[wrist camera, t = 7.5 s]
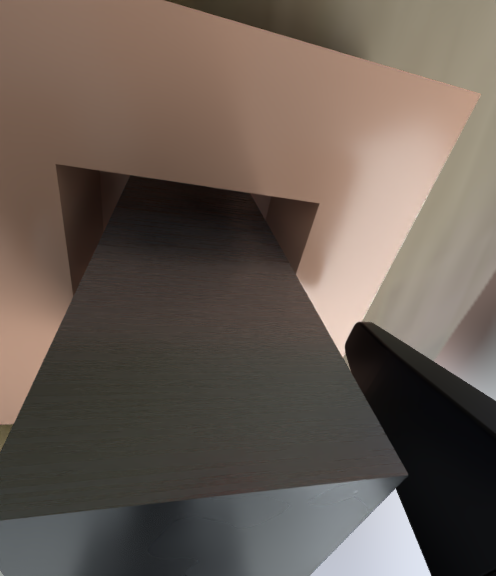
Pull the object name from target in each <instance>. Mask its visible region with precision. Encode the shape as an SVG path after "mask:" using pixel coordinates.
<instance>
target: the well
mask: <svg viewBox="0 0 496 576" xmlns="http://www.w3.org/2000/svg"><path fill="white" fill-rule="evenodd" d="M480 95H481V94H480V93H476V92H473V91H470V90H466V89H463V88H459V87H456V86H453V85H449V84H446V83H442V82H439V81H436V80H432V79H429V78H426V77H422V76H419V75H415V74H412V73H409V72H405V71H402V70H398V69H395V68H392V67H388V66H385V65H382V64H378V63H375V62H371V61H368V60H365V59H361V58H358V57H354V56H351V55H348V54H344V53H341V52H338V51H334V50H331V49H327V48H324V47H321V46H317V45H314V44H310V43H307V42H304V41H300V40H297V39H294V38H290V37H287V36H283V35H280V34H277V33H273V32H270V31H266V30H263V29H260V28H256V27H253V26H250V25H246V24H243V23H239V22H236V21H233V20H229V19H226V18H222V17H219V16H216V15H212V14H209V13H206V12H202V11H199V10H195V9H192V8H189V7H185V6H182V5H178V4H175V3H172V2H168V1H165V0H0V425H1V424H14V422H15V420H16V418H17V416H18V414H19V412H20V409H21V407H22V405H23V403H24V401H25V399H26V397H27V394H28V392H29V390H30V388H31V386H32V384H33V382H34V380H35V377H36V375H37V373H38V371H39V369H40V367H41V365H42V362H43V360H44V358H45V356H46V354H47V352H48V350H49V348H50V345H51V343H52V341H53V339H54V337H55V335H56V333H57V330H58V328H59V326H60V324H61V322H62V320H63V318H64V316H65V313H66V311H67V309H68V307H69V305H70V303H71V301H72V298H73V296H74V294H75V292H76V290H77V288H78V286H79V284H80V281H81V279H82V277H83V275H84V273H85V271H86V269H87V266H88V264H89V262H90V260H91V258H92V256H93V254H94V252H95V249H96V247H97V245H98V243H99V241H100V239H101V237H102V234H103V232H104V230H105V228H106V226H107V224H108V222H109V220H110V217H111V215H112V213H113V211H114V209H115V207H116V205H117V202H118V200H119V198H120V196H121V194H122V192H123V190H124V188H125V185H126V183H127V181H128V179H129V177H130V175H133V176H140V177H146V178H153V179H160V180H167V181H173V182H180V183H187V184H193V185H200V186H207V187H213V188H220V189H227V190H234V191H240V192H247V193H250V194H251V196H252V197H253V199H254V201H255V203H256V204H257V206H258V208H259V210H260V212H261V213H262V215H263V217H264V219H265V220H266V222H267V224H268V226H269V228H270V229H271V231H272V233H273V235H274V236H275V238H276V240H277V242H278V244H279V245H280V247H281V249H282V251H283V252H284V254H285V256H286V258H287V260H288V261H289V263H290V265H291V267H292V268H293V270H294V272H295V274H296V276H297V277H298V279H299V281H300V283H301V284H302V286H303V288H304V290H305V292H306V293H307V295H308V297H309V299H310V300H311V302H312V304H313V306H314V308H315V309H316V311H317V313H318V315H319V316H320V318H321V320H322V322H323V324H324V325H325V327H326V329H327V331H328V332H329V334H330V336H331V338H332V340H333V341H334V343H335V345H336V347H337V348H338V350H339V352H340V354H341V355H342V357H343V356H344V355H345V342H346V340H347V338H348V336H349V334H350V332H351V330H352V328H353V326H354V325H355V324H356V323H357V322H362V320H363V318H364V316H365V315H366V313H367V311H368V309H369V307H370V305H371V303H372V301H373V299H374V297H375V295H376V294H377V292H378V290H379V288H380V286H381V284H382V282H383V280H384V278H385V276H386V275H387V273H388V271H389V269H390V267H391V265H392V263H393V261H394V259H395V257H396V255H397V254H398V252H399V250H400V248H401V246H402V244H403V242H404V240H405V238H406V236H407V235H408V233H409V231H410V229H411V227H412V225H413V223H414V221H415V219H416V217H417V215H418V214H419V212H420V210H421V208H422V206H423V204H424V202H425V200H426V198H427V196H428V195H429V193H430V191H431V189H432V187H433V185H434V183H435V181H436V179H437V177H438V175H439V174H440V172H441V170H442V168H443V166H444V164H445V162H446V160H447V158H448V156H449V155H450V153H451V151H452V149H453V147H454V145H455V143H456V141H457V139H458V137H459V135H460V134H461V132H462V130H463V128H464V126H465V124H466V122H467V120H468V118H469V116H470V115H471V113H472V111H473V109H474V107H475V105H476V103H477V101H478V99H479V97H480Z"/></svg>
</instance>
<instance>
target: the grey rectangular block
mask: <svg viewBox="0 0 496 576" xmlns="http://www.w3.org/2000/svg"><path fill="white" fill-rule="evenodd" d="M407 476H408V473H407V471H406V469H405V467H404V466H403V464H402V462H401V460H400V459H399V457H398V455H397V453H396V451H395V450H394V448H393V446H392V444H391V443H390V441H389V439H388V437H387V435H386V434H385V432H384V430H383V428H382V427H381V425H380V423H379V421H378V419H377V418H376V416H375V414H374V412H373V411H372V409H371V407H370V405H369V403H368V402H367V400H366V398H365V396H364V395H363V393H362V391H361V389H360V387H359V386H358V384H357V382H356V380H355V379H354V377H353V375H352V373H351V371H350V370H349V368H348V366H347V364H346V363H345V361H344V359H343V357H342V355H341V354H340V352H339V350H338V348H337V347H336V345H335V343H334V341H333V340H332V338H331V336H330V334H329V332H328V331H327V329H326V327H325V325H324V324H323V322H322V320H321V318H320V316H319V315H318V313H317V311H316V309H315V308H314V306H313V304H312V302H311V300H310V299H309V297H308V295H307V293H306V292H305V290H304V288H303V286H302V284H301V283H300V281H299V279H298V277H297V276H296V274H295V272H294V270H293V268H292V267H291V265H290V263H289V261H288V260H287V258H286V256H285V254H284V252H283V251H282V249H281V247H280V245H279V244H278V242H277V240H276V238H275V236H274V235H273V233H272V231H271V229H270V228H269V226H268V224H267V222H266V220H265V219H264V217H263V215H262V213H261V212H260V210H259V208H258V206H257V204H256V203H255V201H254V199H253V197H252V196H251V194H250V193H247V192H240V191H234V190H227V189H220V188H213V187H207V186H200V185H193V184H187V183H180V182H173V181H167V180H160V179H153V178H146V177H140V176H133V175H130V177H129V179H128V181H127V183H126V185H125V188H124V190H123V192H122V194H121V196H120V198H119V200H118V202H117V205H116V207H115V209H114V211H113V213H112V215H111V217H110V220H109V222H108V224H107V226H106V228H105V230H104V232H103V234H102V237H101V239H100V241H99V243H98V245H97V247H96V249H95V252H94V254H93V256H92V258H91V260H90V262H89V264H88V266H87V269H86V271H85V273H84V275H83V277H82V279H81V281H80V284H79V286H78V288H77V290H76V292H75V294H74V296H73V298H72V301H71V303H70V305H69V307H68V309H67V311H66V313H65V316H64V318H63V320H62V322H61V324H60V326H59V328H58V330H57V333H56V335H55V337H54V339H53V341H52V343H51V345H50V348H49V350H48V352H47V354H46V356H45V358H44V360H43V362H42V365H41V367H40V369H39V371H38V373H37V375H36V377H35V380H34V382H33V384H32V386H31V388H30V390H29V392H28V394H27V397H26V399H25V401H24V403H23V405H22V407H21V409H20V412H19V414H18V416H17V418H16V420H15V422H14V424H13V426H12V429H11V431H10V433H9V435H8V437H7V439H6V441H5V444H4V446H3V448H2V450H1V452H0V571H1V572H2V574H3V575H4V576H310V575H311V574H312V573H313V572H314V571H315V570H316V569H317V568H318V567H319V566H320V565H321V564H322V563H323V561H325V560H326V559H327V557H328V556H329V555H330V554H331V553H332V552H333V551H334V550H335V549H336V548H337V547H338V546H339V545H340V544H341V543H342V542H343V541H344V540H345V539H346V538H347V537H348V536H349V535H350V534H351V533H352V532H353V531H354V530H355V529H356V528H357V527H358V526H359V525H360V524H361V523H362V522H363V521H364V520H365V519H366V518H367V517H368V516H369V515H370V514H371V513H372V512H373V510H375V509H376V508H377V507H378V506H379V505H380V503H382V501H384V500H385V498H387V497H388V495H390V493H391V492H392V491H393V490H394V489H395V488H396V487H397V486H398V485H399V484H400V483H401V482H402V481H403V480H404V479H405V478H406V477H407Z"/></svg>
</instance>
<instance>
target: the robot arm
mask: <svg viewBox="0 0 496 576" xmlns="http://www.w3.org/2000/svg"><path fill="white" fill-rule="evenodd" d="M345 353H346V356H347V360H348V363H349V366H350V370H351V373H352V375H353V377H354V379H355V380H356V382H357V384H358V386H359V387H360V389H361V391H362V393H363V395H364V396H365V398H366V400H367V402H368V403H369V405H370V407H371V409H372V411H373V412H374V414H375V416H376V418H377V419H378V421H379V423H380V425H381V427H382V428H383V430H384V432H385V434H386V435H387V437H388V439H389V441H390V443H391V444H392V446H393V448H394V450H395V451H396V453H397V455H398V457H399V459H400V460H401V462H402V464H403V466H404V467H405V469H406V471H407V473H408V476H407V477H406V478H405V479H404V480H403V481H402V482H401V483H400V484H399V485H398V486H397V487H396V490H397V493H398V495H399V497H400V500H401V503H402V505H403V507H404V510H405V512H406V515H407V517H408V519H409V522H410V525H411V527H412V529H413V532H414V534H415V537H416V539H417V541H418V544H419V546H420V549H421V551H422V554H423V556H424V558H425V561H426V563H427V566H428V568H429V571H430V573H431V576H496V401H495V400H493V399H492V398H490V397H488V396H487V395H485V394H484V393H482V392H481V391H479V390H478V389H476V388H474V387H473V386H471V385H470V384H468V383H467V382H465V381H463V380H462V379H460V378H459V377H457V376H456V375H454V374H452V373H451V372H449V371H448V370H446V369H445V368H443V367H441V366H440V365H438V364H437V363H435V362H434V361H432V360H431V359H429V358H427V357H426V356H424V355H423V354H421V353H419V352H418V351H416V350H415V349H413V348H412V347H410V346H408V345H407V344H405V343H404V342H402V341H401V340H399V339H397V338H396V337H394V336H393V335H391V334H390V333H388V332H386V331H385V330H383V329H382V328H380V327H379V326H377V325H375V324H374V323H372V322H357V323H356V324H355V325H354V326H353V328H352V330H351V332H350V334H349V336H348V338H347V340H346V342H345Z"/></svg>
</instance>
